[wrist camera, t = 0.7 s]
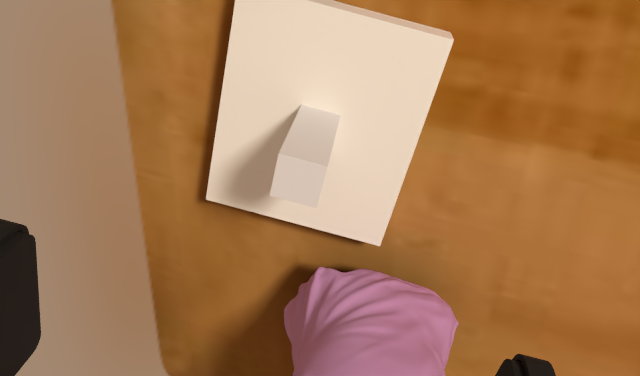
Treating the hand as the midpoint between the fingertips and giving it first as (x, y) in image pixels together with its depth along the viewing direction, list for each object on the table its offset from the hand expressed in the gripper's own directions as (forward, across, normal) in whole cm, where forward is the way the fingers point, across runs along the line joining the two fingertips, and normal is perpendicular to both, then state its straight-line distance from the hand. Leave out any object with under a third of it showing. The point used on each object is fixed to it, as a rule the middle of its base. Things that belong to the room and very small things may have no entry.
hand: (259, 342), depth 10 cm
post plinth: (+24, +1, +4) cm, 24 cm away
